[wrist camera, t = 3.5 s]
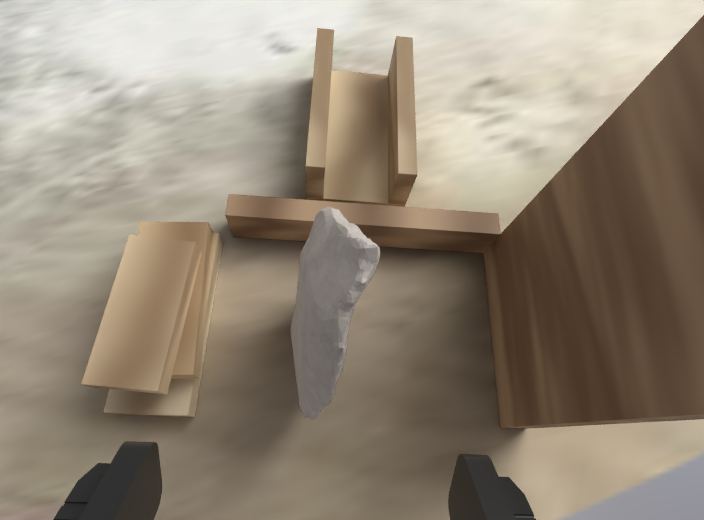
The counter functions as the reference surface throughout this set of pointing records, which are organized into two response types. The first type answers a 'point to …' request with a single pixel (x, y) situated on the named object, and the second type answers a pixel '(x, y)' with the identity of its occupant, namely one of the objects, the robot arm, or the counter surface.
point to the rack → (578, 262)
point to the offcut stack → (157, 321)
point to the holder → (362, 130)
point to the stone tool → (327, 304)
